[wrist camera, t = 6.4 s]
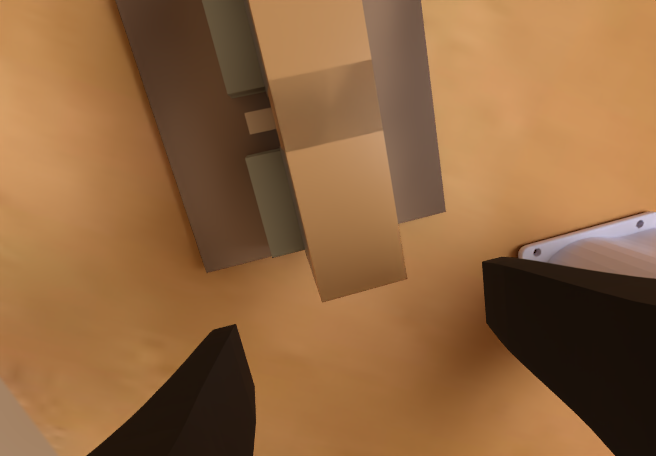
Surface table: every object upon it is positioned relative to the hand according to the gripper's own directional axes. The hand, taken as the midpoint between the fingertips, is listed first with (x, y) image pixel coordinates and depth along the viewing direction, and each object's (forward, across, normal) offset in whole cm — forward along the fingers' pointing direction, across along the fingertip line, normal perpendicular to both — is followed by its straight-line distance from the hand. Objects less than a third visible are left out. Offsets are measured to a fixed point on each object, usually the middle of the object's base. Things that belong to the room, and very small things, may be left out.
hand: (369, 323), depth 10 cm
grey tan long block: (+7, 0, -6) cm, 9 cm away
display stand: (+10, 0, -6) cm, 12 cm away
